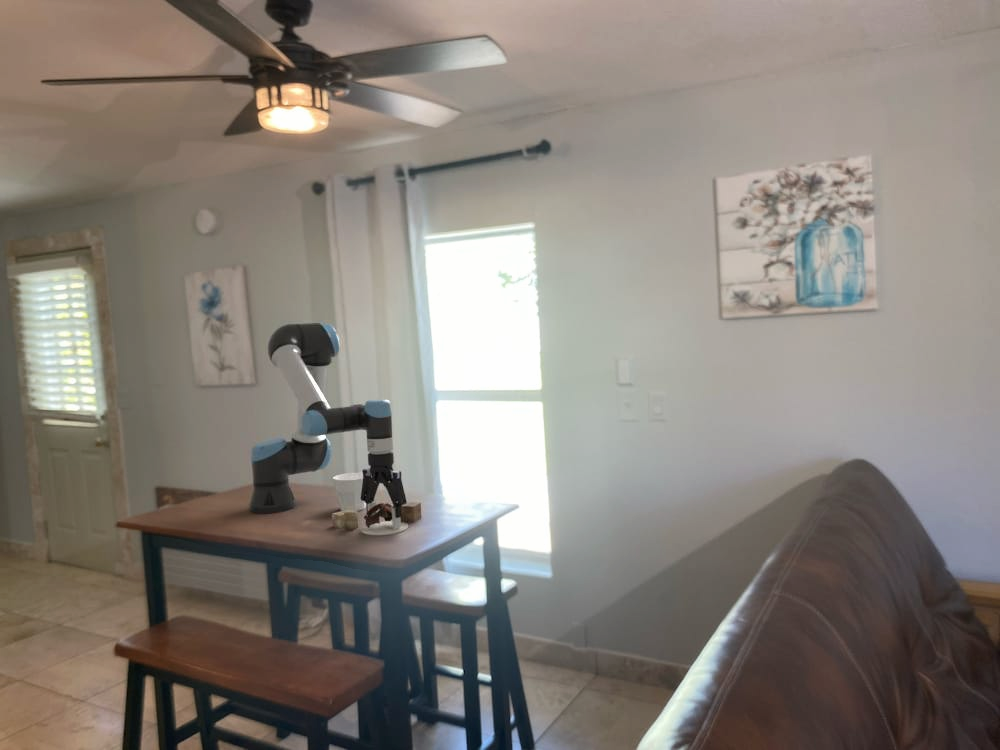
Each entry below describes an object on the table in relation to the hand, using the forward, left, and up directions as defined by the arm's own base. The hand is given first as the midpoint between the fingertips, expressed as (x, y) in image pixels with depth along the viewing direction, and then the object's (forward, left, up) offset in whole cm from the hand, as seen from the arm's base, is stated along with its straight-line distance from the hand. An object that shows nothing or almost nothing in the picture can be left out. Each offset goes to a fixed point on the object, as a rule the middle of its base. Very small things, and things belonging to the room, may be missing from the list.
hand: (384, 526), depth 218 cm
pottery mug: (-1, 0, -1) cm, 1 cm away
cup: (-28, +14, -1) cm, 31 cm away
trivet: (0, 0, -1) cm, 1 cm away
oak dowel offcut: (-10, -4, -1) cm, 11 cm away
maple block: (-15, -2, -1) cm, 15 cm away
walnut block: (0, +12, -1) cm, 12 cm away
